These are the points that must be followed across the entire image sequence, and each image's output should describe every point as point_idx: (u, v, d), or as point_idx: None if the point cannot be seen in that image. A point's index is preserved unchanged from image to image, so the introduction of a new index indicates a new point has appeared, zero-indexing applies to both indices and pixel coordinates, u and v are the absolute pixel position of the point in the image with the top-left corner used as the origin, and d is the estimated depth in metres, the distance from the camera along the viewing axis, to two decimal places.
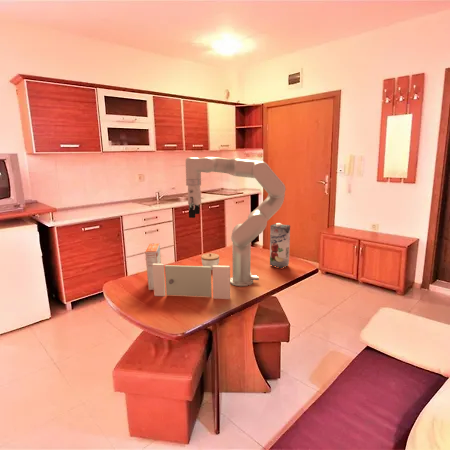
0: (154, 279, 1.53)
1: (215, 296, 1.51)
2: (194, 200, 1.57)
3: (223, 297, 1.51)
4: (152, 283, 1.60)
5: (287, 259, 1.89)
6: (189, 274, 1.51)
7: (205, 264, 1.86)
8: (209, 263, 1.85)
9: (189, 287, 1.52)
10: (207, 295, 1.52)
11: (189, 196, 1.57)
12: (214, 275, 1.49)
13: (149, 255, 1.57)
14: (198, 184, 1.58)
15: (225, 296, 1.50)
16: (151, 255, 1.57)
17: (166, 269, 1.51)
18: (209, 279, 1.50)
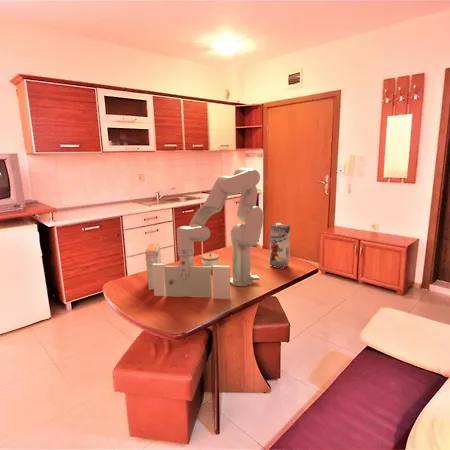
0: (154, 279, 1.53)
1: (215, 296, 1.51)
2: (187, 275, 1.51)
3: (223, 297, 1.51)
4: (152, 283, 1.60)
5: (287, 259, 1.89)
6: None
7: (205, 264, 1.86)
8: (209, 263, 1.85)
9: (189, 287, 1.52)
10: (207, 295, 1.52)
11: (181, 268, 1.49)
12: (214, 275, 1.49)
13: (149, 255, 1.57)
14: (190, 255, 1.50)
15: (225, 296, 1.50)
16: (151, 255, 1.57)
17: (166, 270, 1.51)
18: (209, 280, 1.50)
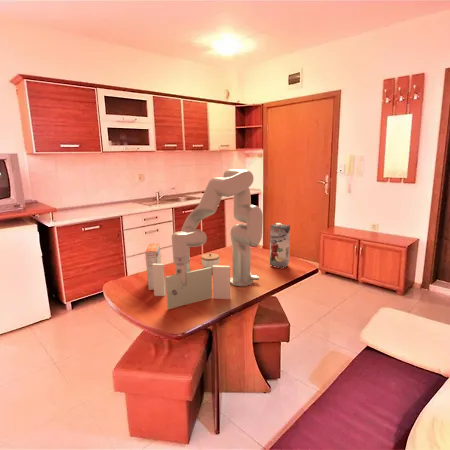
0: (154, 279, 1.53)
1: (215, 296, 1.51)
2: (183, 284, 1.42)
3: (223, 297, 1.51)
4: (152, 283, 1.60)
5: (287, 259, 1.89)
6: (191, 280, 1.44)
7: (205, 264, 1.86)
8: (209, 263, 1.85)
9: (191, 293, 1.45)
10: (208, 297, 1.50)
11: None
12: (214, 275, 1.49)
13: (149, 255, 1.57)
14: (186, 262, 1.42)
15: (225, 296, 1.50)
16: (151, 255, 1.57)
17: (168, 280, 1.38)
18: (210, 280, 1.49)
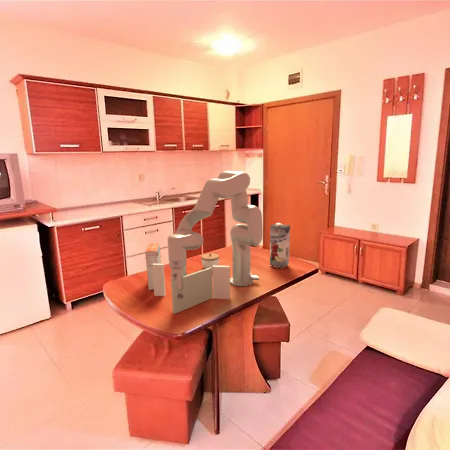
0: (154, 279, 1.53)
1: (215, 296, 1.51)
2: None
3: (223, 297, 1.51)
4: (152, 283, 1.60)
5: (287, 259, 1.89)
6: (195, 281, 1.42)
7: (205, 264, 1.86)
8: (209, 263, 1.85)
9: (195, 295, 1.43)
10: (209, 297, 1.50)
11: None
12: (214, 275, 1.49)
13: (149, 255, 1.57)
14: (183, 266, 1.36)
15: (225, 296, 1.50)
16: (151, 255, 1.57)
17: (174, 284, 1.34)
18: (211, 280, 1.49)
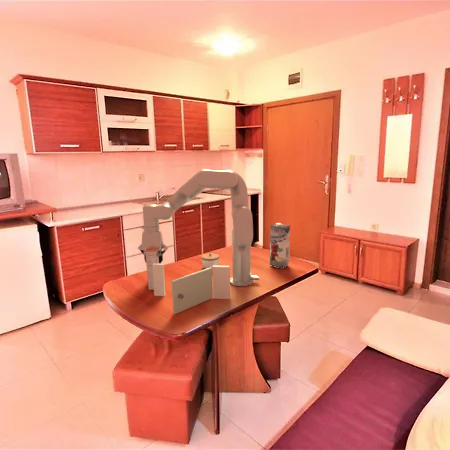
0: (154, 279, 1.53)
1: (215, 296, 1.51)
2: None
3: (223, 297, 1.51)
4: (152, 283, 1.60)
5: (287, 259, 1.89)
6: (195, 282, 1.42)
7: (205, 264, 1.86)
8: (209, 263, 1.85)
9: (195, 295, 1.43)
10: (209, 297, 1.50)
11: None
12: (214, 275, 1.49)
13: (149, 255, 1.57)
14: (145, 231, 1.59)
15: (225, 296, 1.50)
16: (151, 255, 1.57)
17: (174, 284, 1.34)
18: (211, 280, 1.49)
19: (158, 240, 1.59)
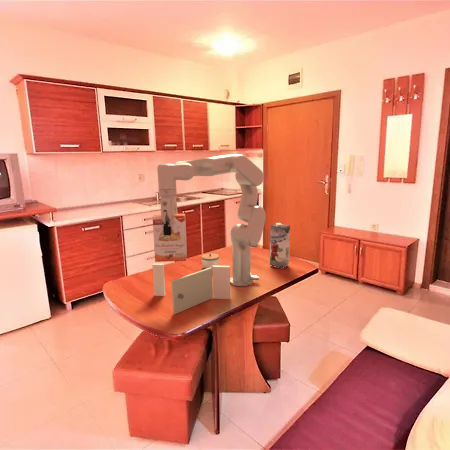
0: (154, 279, 1.53)
1: (215, 296, 1.51)
2: (168, 216, 1.34)
3: (223, 297, 1.51)
4: (186, 251, 1.44)
5: (287, 259, 1.89)
6: (195, 282, 1.42)
7: (205, 264, 1.86)
8: (209, 263, 1.85)
9: (195, 295, 1.43)
10: (209, 297, 1.50)
11: (162, 209, 1.34)
12: (214, 275, 1.49)
13: None
14: (173, 195, 1.35)
15: (225, 296, 1.50)
16: None
17: (174, 284, 1.34)
18: (211, 280, 1.49)
19: (176, 203, 1.42)
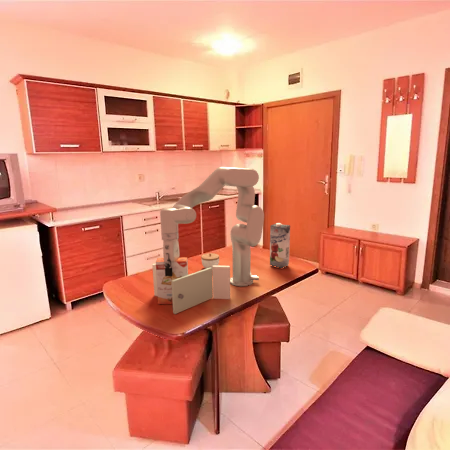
0: (154, 279, 1.53)
1: (215, 296, 1.51)
2: (170, 257, 1.38)
3: (223, 297, 1.51)
4: None
5: (287, 259, 1.89)
6: (195, 282, 1.42)
7: (205, 264, 1.86)
8: (209, 263, 1.85)
9: (195, 295, 1.43)
10: (209, 297, 1.50)
11: (165, 252, 1.38)
12: (214, 275, 1.49)
13: (187, 264, 1.44)
14: (175, 238, 1.39)
15: (225, 296, 1.50)
16: (187, 263, 1.45)
17: (174, 284, 1.34)
18: (211, 280, 1.49)
19: (178, 244, 1.46)
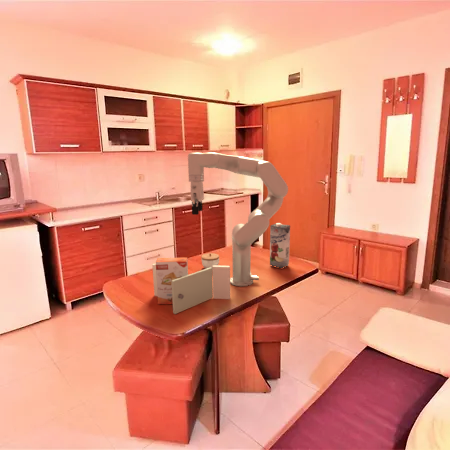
0: (154, 279, 1.53)
1: (215, 296, 1.51)
2: (197, 196, 1.53)
3: (223, 297, 1.51)
4: None
5: (287, 259, 1.89)
6: (195, 282, 1.42)
7: (205, 264, 1.86)
8: (209, 263, 1.85)
9: (195, 295, 1.43)
10: (209, 297, 1.50)
11: (192, 192, 1.53)
12: (214, 275, 1.49)
13: (187, 264, 1.44)
14: (201, 180, 1.54)
15: (225, 296, 1.50)
16: (187, 263, 1.45)
17: (174, 284, 1.34)
18: (211, 280, 1.49)
19: None
